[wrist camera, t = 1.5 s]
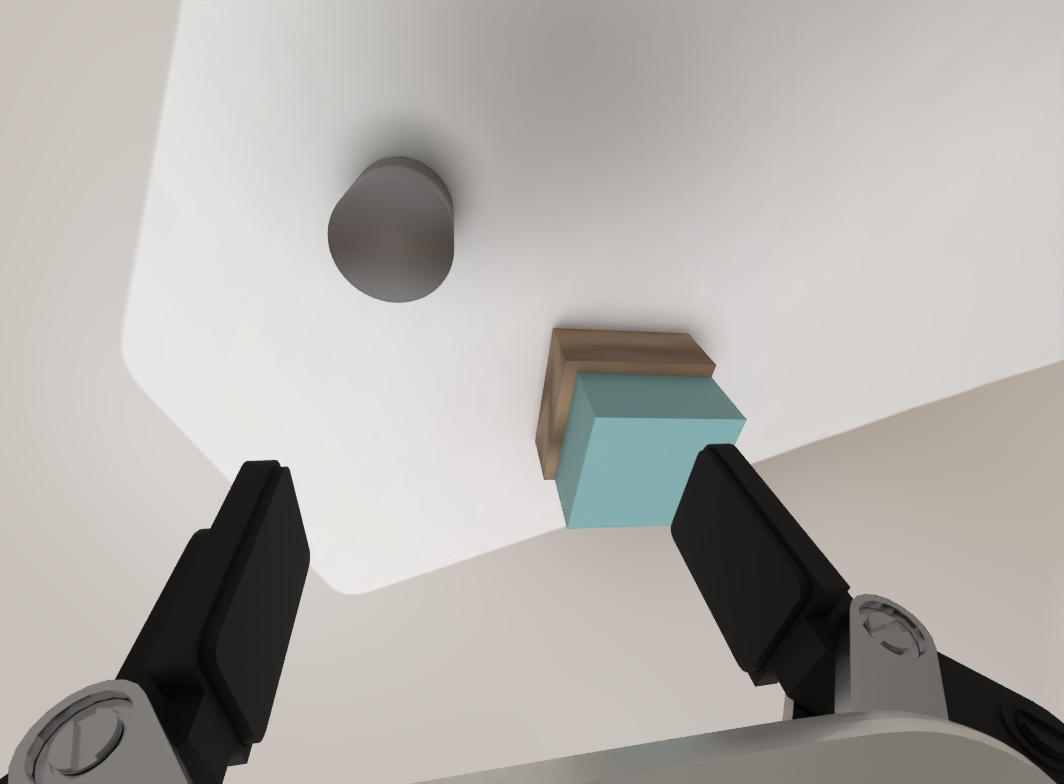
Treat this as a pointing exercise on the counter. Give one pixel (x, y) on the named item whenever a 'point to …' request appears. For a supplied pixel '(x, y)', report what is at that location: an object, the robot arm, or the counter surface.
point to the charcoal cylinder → (394, 231)
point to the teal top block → (637, 445)
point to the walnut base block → (605, 356)
